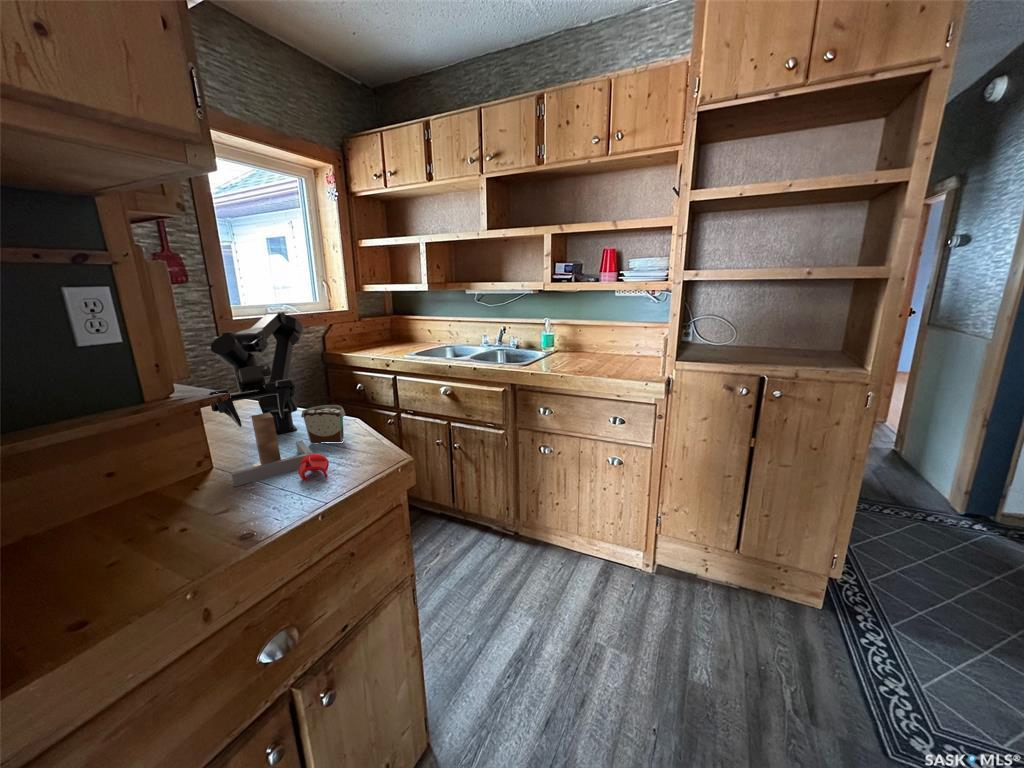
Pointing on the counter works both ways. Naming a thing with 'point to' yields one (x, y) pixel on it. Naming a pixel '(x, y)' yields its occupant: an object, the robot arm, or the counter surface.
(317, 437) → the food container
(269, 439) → the walnut block
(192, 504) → the counter surface
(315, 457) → the cap
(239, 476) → the grey long angled bar
